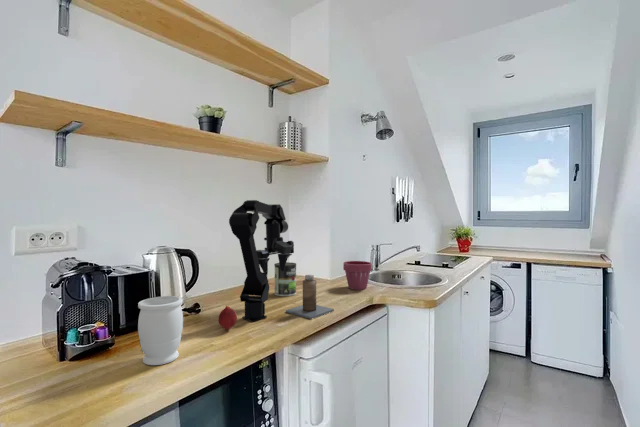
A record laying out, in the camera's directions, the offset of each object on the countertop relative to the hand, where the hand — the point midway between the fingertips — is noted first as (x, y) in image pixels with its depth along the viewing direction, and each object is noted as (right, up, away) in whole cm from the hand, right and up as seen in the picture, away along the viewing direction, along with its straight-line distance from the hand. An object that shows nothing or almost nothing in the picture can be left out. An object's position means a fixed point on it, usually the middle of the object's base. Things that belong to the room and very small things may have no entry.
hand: (274, 273), depth 132 cm
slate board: (+15, -13, -9) cm, 22 cm away
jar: (-22, -13, -49) cm, 56 cm away
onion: (-11, -13, -29) cm, 33 cm away
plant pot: (+38, -13, +31) cm, 51 cm away
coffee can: (+2, -14, +19) cm, 24 cm away
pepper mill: (+15, -12, -9) cm, 21 cm away
